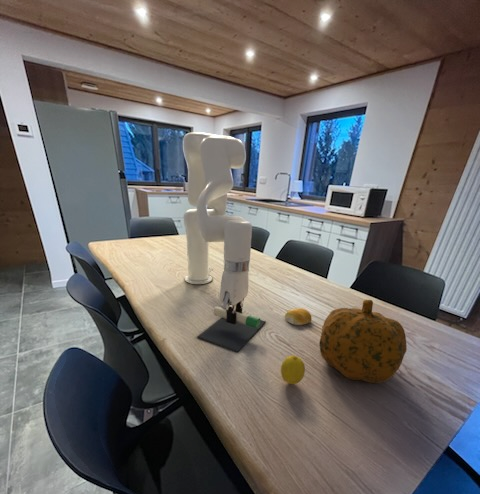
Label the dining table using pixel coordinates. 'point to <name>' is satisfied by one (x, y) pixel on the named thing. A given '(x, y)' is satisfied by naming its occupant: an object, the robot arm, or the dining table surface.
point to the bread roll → (298, 316)
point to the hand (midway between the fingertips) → (234, 320)
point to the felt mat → (229, 334)
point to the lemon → (292, 369)
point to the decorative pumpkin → (363, 343)
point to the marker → (239, 317)
